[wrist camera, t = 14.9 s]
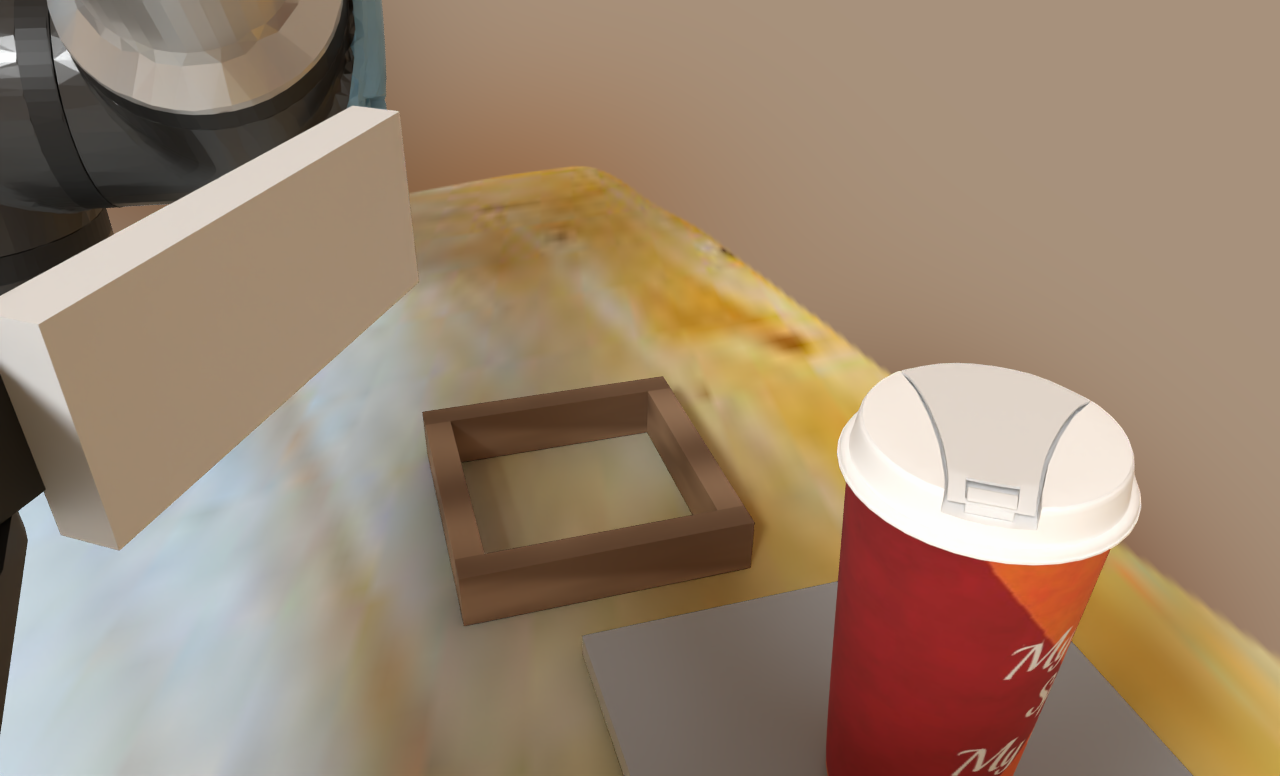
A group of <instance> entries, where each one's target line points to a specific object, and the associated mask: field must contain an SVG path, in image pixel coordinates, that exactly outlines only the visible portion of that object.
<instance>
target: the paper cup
mask: <svg viewBox="0 0 1280 776" xmlns="http://www.w3.org/2000/svg"><path fill="white" fill-rule="evenodd" d="M837 457H838V462H839V467H840V470H841V472H842V474H843V476H844V479H845V481H846V488H845V501H844V513H843V526H842V538H841V550H840V562H839V575H838V587H837V599H836V611H835V624H834V637H833V650H832V663H831V676H830V690H829V704H828V718H827V737H826V768H827V775H828V776H1013V775H1014V772H1015V770H1016V768H1017V766H1018V763H1019V761H1020V759H1021V756H1022V754H1023V752H1024V750H1025V747H1026V745H1027V743H1028V741H1029V738H1030V736H1031V734H1032V731H1033V729H1034V727H1035V724H1036V722H1037V720H1038V717H1039V715H1040V713H1041V710H1042V708H1043V706H1044V703H1045V701H1046V699H1047V697H1048V694H1049V692H1050V690H1051V687H1052V685H1053V683H1054V680H1055V678H1056V676H1057V673H1058V671H1059V669H1060V666H1061V664H1062V661H1063V659H1064V657H1065V654H1066V652H1067V650H1068V647H1069V645H1070V643H1071V640H1072V638H1073V636H1074V633H1075V631H1076V629H1077V626H1078V624H1079V622H1080V619H1081V617H1082V615H1083V612H1084V610H1085V607H1086V605H1087V603H1088V600H1089V598H1090V596H1091V593H1092V591H1093V589H1094V586H1095V584H1096V582H1097V579H1098V577H1099V575H1100V572H1101V570H1102V568H1103V565H1104V563H1105V561H1106V558H1107V556H1108V554H1109V551H1110V549H1111V548H1113V547H1114V546H1116V545H1118V544H1119V543H1120V542H1121V541H1122V540H1123V539H1124V538H1126V537H1127V536H1128V535H1129V534H1130V532H1131V531H1132V529H1133V528H1134V526H1135V525H1136V523H1137V521H1138V517H1139V514H1140V509H1141V494H1140V490H1139V487H1138V484H1137V481H1136V478H1135V475H1134V470H1135V467H1134V454H1133V451H1132V448H1131V445H1130V442H1129V440H1128V437H1127V436H1126V434H1125V432H1124V431H1123V429H1122V428H1121V426H1120V425H1118V423H1117V422H1116V421H1115V420H1114V419H1113V417H1111V415H1109V414H1108V413H1107V412H1106V411H1104V410H1103V409H1102V408H1101V407H1100V406H1099V405H1097V404H1096V403H1094V402H1093V401H1092V402H1090V400H1089V399H1087V398H1085V397H1083V396H1081V395H1079V394H1077V393H1075V392H1073V391H1071V390H1069V389H1067V388H1065V387H1063V386H1060V385H1058V384H1056V383H1054V382H1052V381H1049V380H1047V379H1044V378H1041V377H1038V376H1035V375H1032V374H1029V373H1025V372H1021V371H1017V370H1012V369H1007V368H1001V367H996V366H989V365H980V364H968V363H944V364H934V365H927V366H921V367H916V368H911V369H906V370H902V372H901V371H898V372H896V373H893V374H891V375H889V376H888V377H886V378H884V379H882V380H881V381H880V382H879V383H877V384H876V385H875V386H874V387H873V388H872V389H871V390H870V391H869V392H868V394H867V395H866V396H865V398H864V399H863V401H862V403H861V406H860V408H859V411H858V412H857V413H855V414H854V415H853V417H852V418H851V419H850V420H849V421H848V423H847V424H846V425H845V427H844V428H843V430H842V432H841V435H840V437H839V440H838V450H837Z"/></svg>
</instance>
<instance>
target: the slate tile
mask: <svg viewBox="0 0 1280 776" xmlns="http://www.w3.org/2000/svg"><path fill="white" fill-rule="evenodd" d="M837 587H838V581H837V582H832V583H827V584H823V585H818V586H813V587H809V588H804V589H799V590H795V591H790V592H785V593H781V594H776V595H771V596H766V597H762V598H757V599H752V600H748V601H743V602H738V603H734V604H729V605H724V606H720V607H715V608H710V609H706V610H701V611H696V612H691V613H687V614H682V615H677V616H673V617H668V618H663V619H659V620H654V621H649V622H645V623H640V624H635V625H630V626H626V627H621V628H616V629H612V630H607V631H602V632H598V633H593V634H588V635H584V636H582V652H583V657H584V660H585V663H586V666H587V669H588V672H589V675H590V678H591V681H592V684H593V687H594V689H595V692H596V695H597V698H598V701H599V704H600V707H601V710H602V713H603V716H604V719H605V722H606V725H607V728H608V731H609V734H610V737H611V740H612V743H613V746H614V749H615V751H616V754H617V757H618V760H619V763H620V766H621V769H622V772H623V775H624V776H828V775H827V768H826V737H827V718H828V704H829V690H830V676H831V663H832V650H833V637H834V624H835V611H836V599H837ZM1013 776H1193V775H1192V774H1191V773H1190V772H1189V771H1188V770H1187V769H1186V767H1185V766H1184V765H1183V764H1182V763H1181V762H1180V761H1179V760H1178V759H1177V757H1176V756H1175V755H1174V754H1173V753H1172V752H1171V751H1170V750H1169V749H1168V747H1167V746H1166V745H1165V744H1164V743H1163V742H1162V741H1161V740H1160V739H1159V738H1158V736H1157V735H1156V734H1155V733H1154V732H1153V731H1152V730H1151V729H1150V728H1149V726H1148V725H1147V724H1146V723H1145V722H1144V721H1143V720H1142V719H1141V718H1140V717H1139V715H1138V714H1137V713H1136V712H1135V711H1134V710H1133V709H1132V708H1131V707H1130V705H1129V704H1128V703H1127V702H1126V701H1125V700H1124V699H1123V698H1122V697H1121V696H1120V694H1119V693H1118V692H1117V691H1116V690H1115V689H1114V688H1113V687H1112V686H1111V684H1110V683H1109V682H1108V681H1107V680H1106V679H1105V678H1104V677H1103V676H1102V675H1101V673H1100V672H1099V671H1098V670H1097V669H1096V668H1095V667H1094V666H1093V665H1092V663H1091V662H1090V661H1089V660H1088V659H1087V658H1086V657H1085V656H1084V655H1083V654H1082V652H1081V651H1080V650H1079V649H1078V648H1077V647H1076V646H1075V645H1074V644H1073V642H1072V641H1071V643H1070V645H1069V647H1068V650H1067V652H1066V654H1065V657H1064V659H1063V661H1062V664H1061V666H1060V669H1059V671H1058V673H1057V676H1056V678H1055V680H1054V683H1053V685H1052V687H1051V690H1050V692H1049V694H1048V697H1047V699H1046V701H1045V703H1044V706H1043V708H1042V710H1041V713H1040V715H1039V717H1038V720H1037V722H1036V724H1035V727H1034V729H1033V731H1032V734H1031V736H1030V738H1029V741H1028V743H1027V745H1026V747H1025V750H1024V752H1023V754H1022V756H1021V759H1020V761H1019V763H1018V766H1017V768H1016V770H1015V772H1014V775H1013Z"/></svg>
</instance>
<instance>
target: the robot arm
mask: <svg viewBox="0 0 1280 776" xmlns="http://www.w3.org/2000/svg"><path fill="white" fill-rule="evenodd" d="M384 40H385V39H384V24H383V11H382V1H381V0H0V732H1V725H2V718H3V711H4V704H5V697H6V690H7V683H8V676H9V669H10V662H11V655H12V648H13V640H14V633H15V626H16V619H17V612H18V605H19V598H20V591H21V584H22V577H23V570H24V563H25V556H26V549H27V542H28V539H27V535H26V530H25V527H24V524H23V522H22V520H21V517H20V515H19V512H18V511H19V510H20V509H21V508H22V507H24V506H25V505H26V504H28V503H29V502H30V501H32V500H33V499H34V498H36V497H37V496H38V495H39V494H41V493H42V492H43V491H44V493H45V496H46V498H47V501H48V503H49V506H50V509H51V511H52V514H53V516H54V519H55V521H56V524H57V526H58V529H59V531H60V534H61V535H63V536H66V537H70V538H74V539H78V540H81V541H85V542H89V543H93V544H96V545H100V546H104V547H108V548H112V549H115V550H121V549H122V548H123V547H124V546H125V545H126V544H127V543H128V542H130V541H131V540H132V539H133V538H134V537H135V536H136V535H137V534H138V533H140V532H141V531H142V530H143V529H144V528H145V527H146V526H147V525H148V524H150V523H151V522H152V521H153V520H154V519H155V518H156V517H157V516H159V515H160V514H161V513H162V512H163V511H164V510H165V509H166V508H167V507H169V506H170V505H171V504H172V503H173V502H174V501H175V500H176V499H178V498H179V497H180V496H181V495H182V494H183V493H184V492H185V491H186V490H188V489H189V488H190V487H191V486H192V485H193V484H194V483H195V482H196V481H198V480H199V479H200V478H201V477H202V476H203V475H204V474H205V473H207V472H208V471H209V470H210V469H211V468H212V467H213V466H214V465H215V464H217V463H218V462H219V461H220V460H221V459H222V458H223V457H224V456H225V455H227V454H228V453H229V452H230V451H231V450H232V449H233V448H234V447H236V446H237V445H238V444H239V443H240V442H241V441H242V440H243V439H244V438H246V437H247V436H248V435H249V434H250V433H251V432H252V431H253V430H254V429H256V428H257V427H258V426H259V425H260V424H261V423H262V422H263V421H265V420H266V419H267V418H268V417H269V416H270V415H271V414H272V413H273V412H275V411H276V410H277V409H278V408H279V407H280V406H281V405H282V404H284V403H285V402H286V401H287V400H288V399H289V398H290V397H291V396H292V395H294V394H295V393H296V392H297V391H298V390H299V389H300V388H301V387H302V386H304V385H305V384H306V383H307V382H308V381H309V380H310V379H311V378H313V377H314V376H315V375H316V374H317V373H318V372H319V371H320V370H321V369H323V368H324V367H325V366H326V365H327V364H328V363H329V362H330V361H331V360H333V359H334V358H335V357H336V356H337V355H338V354H339V353H340V352H342V351H343V350H344V349H345V348H346V347H347V346H348V345H349V344H350V343H352V342H353V341H354V340H355V339H356V338H357V337H358V336H359V335H361V334H362V333H363V332H364V331H365V330H366V329H367V328H368V327H369V326H371V325H372V324H373V323H374V322H375V321H376V320H377V319H378V318H379V317H381V316H382V315H383V314H384V313H385V312H386V311H387V310H388V309H390V308H391V307H392V306H393V305H394V304H395V303H396V302H397V301H398V300H400V299H401V298H402V297H403V296H404V295H405V294H406V293H407V292H408V291H410V290H411V289H412V288H413V287H414V286H415V285H416V284H417V283H419V277H418V268H417V260H416V251H415V242H414V234H413V225H412V217H411V208H410V200H409V191H408V182H407V174H406V165H405V157H404V149H403V140H402V131H401V123H400V114H399V111H392V110H386V103H385V97H386V59H385V41H384ZM161 204H170V205H168V206H166V207H164V208H162V209H161V210H159V211H157V212H155V213H153V214H151V215H150V216H147V217H145V218H144V219H142V220H140V221H138V222H136V223H134V224H133V225H131V226H129V227H127V228H125V229H123V230H122V231H120V232H118V233H116V234H114V233H113V230H112V227H111V223H110V220H109V216H108V213H107V210H106V208H111V207H112V208H114V207H119V208H120V207H125V206H141V205H142V206H143V205H161Z"/></svg>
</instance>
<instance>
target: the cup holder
mask: <svg viewBox="0 0 1280 776" xmlns="http://www.w3.org/2000/svg"><path fill="white" fill-rule="evenodd" d="M422 413H423V421H424V429H425V437H426V446H427V454H428V458H429V463H430V468H431V473H432V477H433V482H434V487H435V491H436V496H437V501H438V506H439V510H440V515H441V520H442V524H443V529H444V534H445V539H446V543H447V548H448V553H449V558H450V562H451V567H452V572H453V576H454V581H455V586H456V591H457V595H458V600H459V605H460V610H461V614H462V619H463V624H464V626H467V625H472V624H476V623H481V622H486V621H491V620H496V619H501V618H506V617H511V616H516V615H521V614H525V613H530V612H535V611H540V610H545V609H550V608H555V607H560V606H565V605H569V604H574V603H579V602H584V601H589V600H594V599H599V598H604V597H609V596H614V595H618V594H623V593H628V592H633V591H638V590H643V589H648V588H653V587H658V586H663V585H667V584H672V583H677V582H682V581H687V580H692V579H697V578H702V577H707V576H711V575H716V574H721V573H726V572H731V571H736V570H741V569H746V568H750V567H751V556H752V545H753V534H754V524H755V522H754V521H753V519H752V518H751V516H750V514H749V513H748V511H747V510H746V508H745V506H744V505H743V503H742V502H741V500H740V499H739V497H738V495H737V494H736V492H735V491H734V489H733V487H732V486H731V484H730V483H729V481H728V479H727V478H726V476H725V475H724V473H723V471H722V470H721V468H720V467H719V465H718V463H717V462H716V460H715V459H714V457H713V455H712V454H711V452H710V451H709V449H708V447H707V446H706V444H705V443H704V441H703V439H702V438H701V436H700V435H699V433H698V431H697V430H696V428H695V427H694V425H693V423H692V422H691V420H690V419H689V417H688V416H687V414H686V412H685V411H684V409H683V408H682V406H681V404H680V403H679V401H678V400H677V398H676V396H675V395H674V393H673V392H672V390H671V388H670V387H669V385H668V384H667V382H666V380H665V379H664V377H663V376H662V377H655V378H648V379H641V380H635V381H628V382H621V383H614V384H608V385H601V386H594V387H587V388H581V389H574V390H567V391H560V392H554V393H547V394H540V395H533V396H527V397H520V398H513V399H506V400H500V401H493V402H486V403H479V404H472V405H466V406H459V407H452V408H445V409H439V410H432V411H425V412H422ZM644 432H647V433H648V435H649V436H650V438H651V440H652V442H653V444H654V445H655V447H656V449H657V451H658V453H659V455H660V456H661V458H662V460H663V462H664V464H665V465H666V467H667V469H668V471H669V473H670V475H671V476H672V478H673V480H674V482H675V484H676V485H677V487H678V489H679V491H680V493H681V495H682V496H683V498H684V500H685V502H686V504H687V505H688V507H689V509H690V511H691V513H692V515H690V516H685V517H679V518H674V519H668V520H663V521H658V522H652V523H647V524H642V525H636V526H631V527H626V528H620V529H615V530H610V531H604V532H599V533H593V534H588V535H583V536H577V537H572V538H567V539H561V540H556V541H551V542H545V543H540V544H535V545H529V546H524V547H519V548H513V549H508V550H502V551H497V552H492V553H486V554H484V550H483V546H482V542H481V538H480V535H479V531H478V527H477V523H476V519H475V515H474V511H473V507H472V504H471V500H470V496H469V492H468V488H467V484H466V480H465V476H464V472H463V469H462V465H461V462H465V461H471V460H478V459H484V458H490V457H496V456H502V455H508V454H515V453H521V452H527V451H533V450H539V449H545V448H552V447H558V446H564V445H570V444H576V443H582V442H589V441H595V440H601V439H607V438H613V437H619V436H626V435H632V434H638V433H644Z"/></svg>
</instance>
